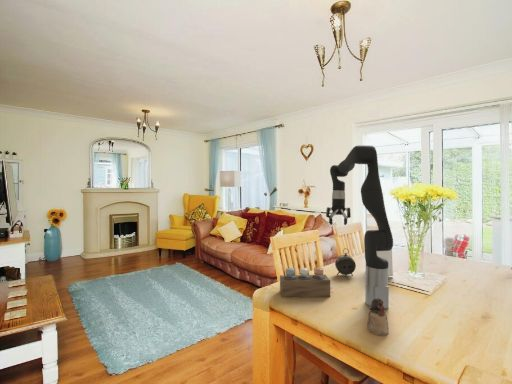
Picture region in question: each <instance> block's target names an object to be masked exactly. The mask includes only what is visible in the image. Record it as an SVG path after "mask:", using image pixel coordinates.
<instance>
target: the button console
mask: <svg viewBox="0 0 512 384" xmlns="http://www.w3.org/2000/svg"><path fill="white" fill-rule="evenodd" d="M279 291H280V295H281V298H282V297H300V298H330V297H331V279H330V278H329V276H328V275H327V274H323V275H315V274H309V275H307V276H303V275H300V274H295V275H294V276H288V275H286V274H285V275H283V274H282V275H281V274H280V275H279Z"/></svg>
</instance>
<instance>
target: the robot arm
mask: <svg viewBox="0 0 512 384" xmlns="http://www.w3.org/2000/svg"><path fill="white" fill-rule="evenodd" d="M356 165H367V174H366V177H365V179H364V180H363V183H362V185H361V187H360V195H361V202H362V205H363V206H364V208H365V209H366V211H368V212H369V214H370V215H371V216H372V217H373V219H374V221H375V222H376V226H377V229H370V230H366V232H365V233H364V237H363V239H364V241H363V242H364V243H363V244H364V245H363V246H364V259H365V288H364V289H365V295H364V296H365V298H364V300H365V304H366V306H369V308H371V304H372V300H374V299H376V298H380V299H381V300H382V301H383V306H384V310H385V309H389V301H390V300H389V299H390V298H389V296H390V295H389V294H390V292H389V291H390V288H389V277H388V261H387V260H386V259H384V258H381V257H378V256H377V251H390V250H391V249H392V250H393V247H394V238H393V233H392V230H391V226H390V223H389V220H388V216H387V210H386V205H385V201H384V200H385V199H384V194H383V189H382V185H381V179H380V178H381V177H380V172H379V163H378V153H377V148H376V147H375V146H373V145H368V144H367V145H365V144H364V145H361V144H360V145H355V146H354V147H353V148H352V149H351V150H350V151H349V153H348V154H347V155H346V157H345V159H343V160H342V161H341V162H340V163H338V164H334V165H331V166H330V168H329V173H330V177H331V181H332V182H331V183H332V193H331V195H332V196H331V207H326V212H325V217H326V218H328V223H329V225H331V226H332V225H333V217H334V216H336V215H337V216H339V215H340V216H342V217H343V225H344V226H347V224H348V219H350V218H351V217H352V216H351V214H352V213H351V207H346V192H345V191H346V182H345V181H343V180H340V179H339V178H342V177H343V178H346V177H347V176H348V174H349V172H351V171H352V170H353V169H354V168H355V166H356ZM331 211H332V212H331ZM345 211H346V213H345ZM330 212H331V213H330Z"/></svg>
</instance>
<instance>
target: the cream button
mask: <svg viewBox="0 0 512 384" xmlns="http://www.w3.org/2000/svg"><path fill="white" fill-rule="evenodd" d="M299 275H303V276H307V275H310V269H309V268H308V267H301V268H300V269H299Z"/></svg>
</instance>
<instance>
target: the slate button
mask: <svg viewBox="0 0 512 384" xmlns="http://www.w3.org/2000/svg"><path fill="white" fill-rule="evenodd" d="M285 275H288V276H294V275H296V270H295V268H293V267H288V268H285Z"/></svg>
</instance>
